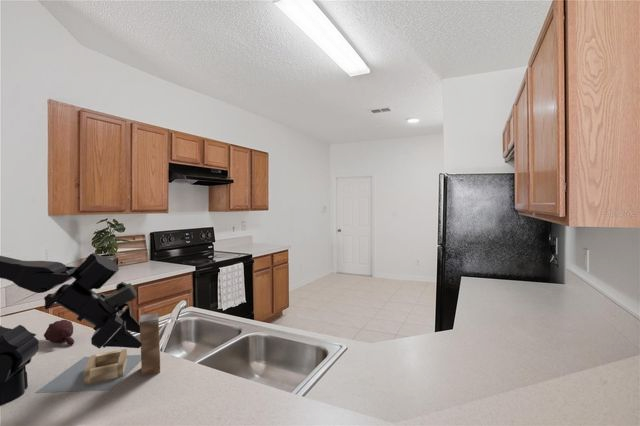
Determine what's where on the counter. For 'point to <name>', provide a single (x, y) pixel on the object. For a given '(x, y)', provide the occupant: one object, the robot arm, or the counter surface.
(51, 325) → the maroon bulbous piece
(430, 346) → the counter surface
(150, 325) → the post
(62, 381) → the board
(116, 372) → the socket
